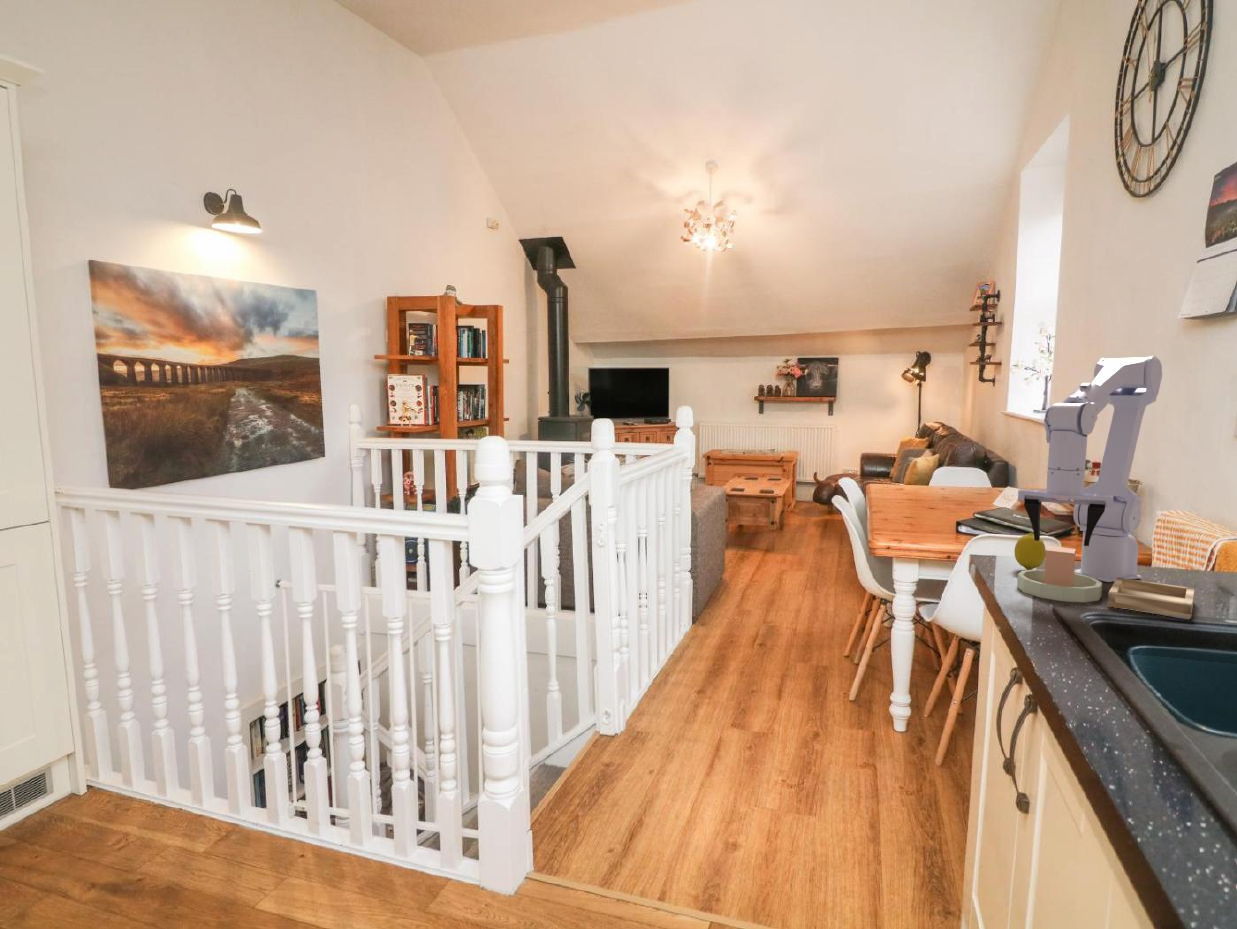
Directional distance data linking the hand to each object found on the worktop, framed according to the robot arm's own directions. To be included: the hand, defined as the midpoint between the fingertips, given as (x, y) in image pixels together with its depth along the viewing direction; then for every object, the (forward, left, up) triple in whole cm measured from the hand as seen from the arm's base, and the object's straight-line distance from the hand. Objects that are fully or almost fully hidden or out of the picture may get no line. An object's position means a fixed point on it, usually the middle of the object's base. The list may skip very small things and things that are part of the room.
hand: (1061, 542), depth 126 cm
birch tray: (-8, +11, -9) cm, 16 cm away
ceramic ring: (0, 0, -9) cm, 9 cm away
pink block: (0, 0, -9) cm, 9 cm away
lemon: (-8, -13, -10) cm, 18 cm away
